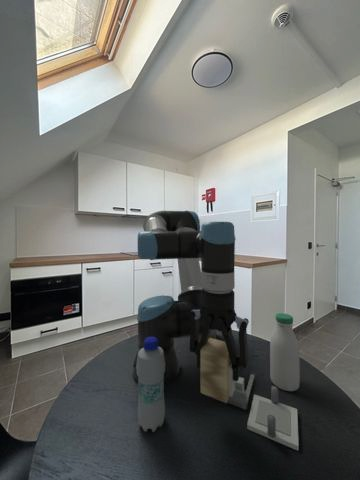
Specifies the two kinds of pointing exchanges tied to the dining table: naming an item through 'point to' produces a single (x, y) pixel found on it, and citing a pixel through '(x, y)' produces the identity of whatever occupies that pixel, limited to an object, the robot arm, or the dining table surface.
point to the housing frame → (241, 395)
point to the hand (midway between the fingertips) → (217, 386)
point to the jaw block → (215, 370)
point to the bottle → (151, 385)
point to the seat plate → (279, 435)
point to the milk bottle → (284, 354)
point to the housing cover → (240, 383)
